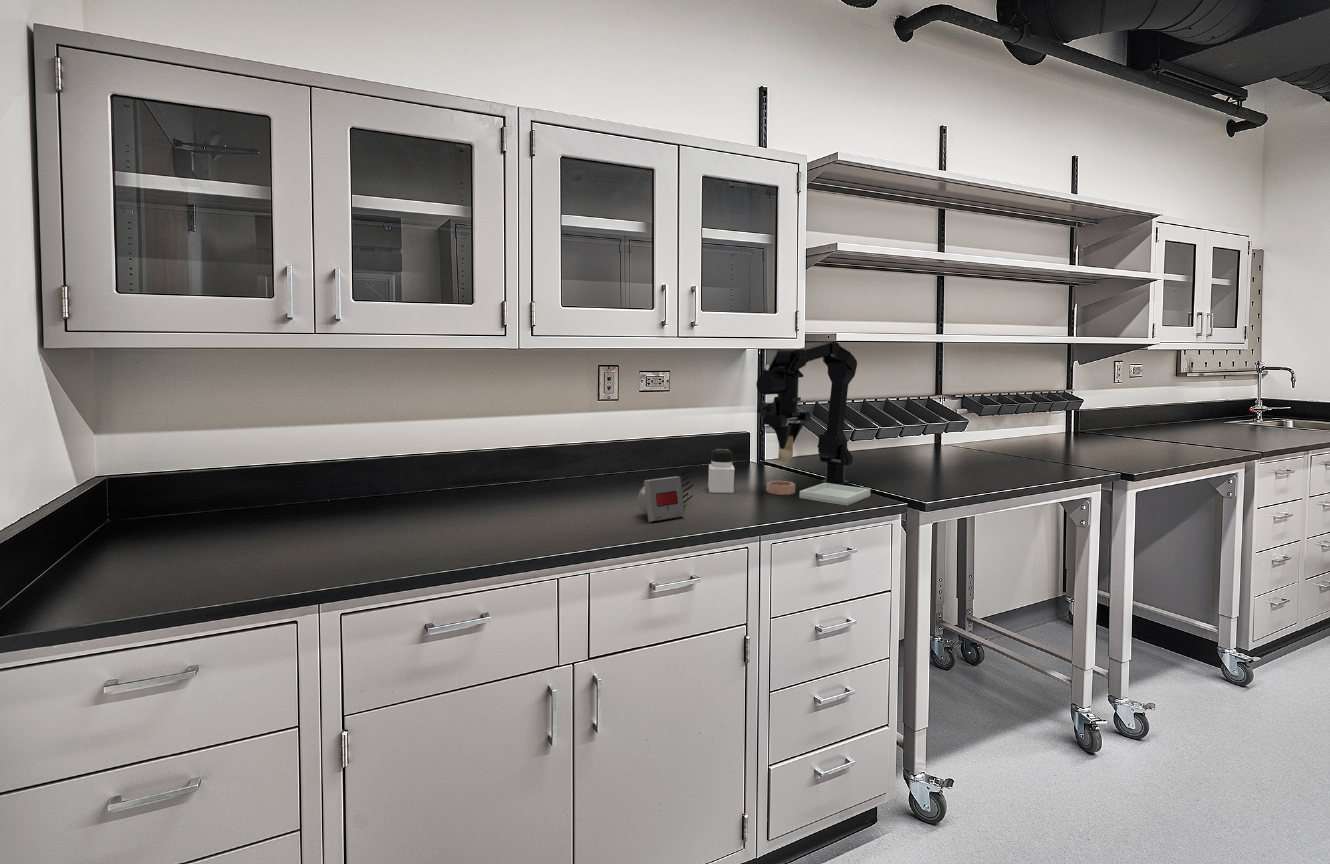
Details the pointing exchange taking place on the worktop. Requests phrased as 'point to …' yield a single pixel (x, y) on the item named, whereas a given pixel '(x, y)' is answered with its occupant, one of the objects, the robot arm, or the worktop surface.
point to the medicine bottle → (721, 472)
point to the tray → (835, 493)
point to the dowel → (786, 450)
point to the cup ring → (780, 487)
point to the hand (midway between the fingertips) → (785, 447)
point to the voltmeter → (663, 497)
